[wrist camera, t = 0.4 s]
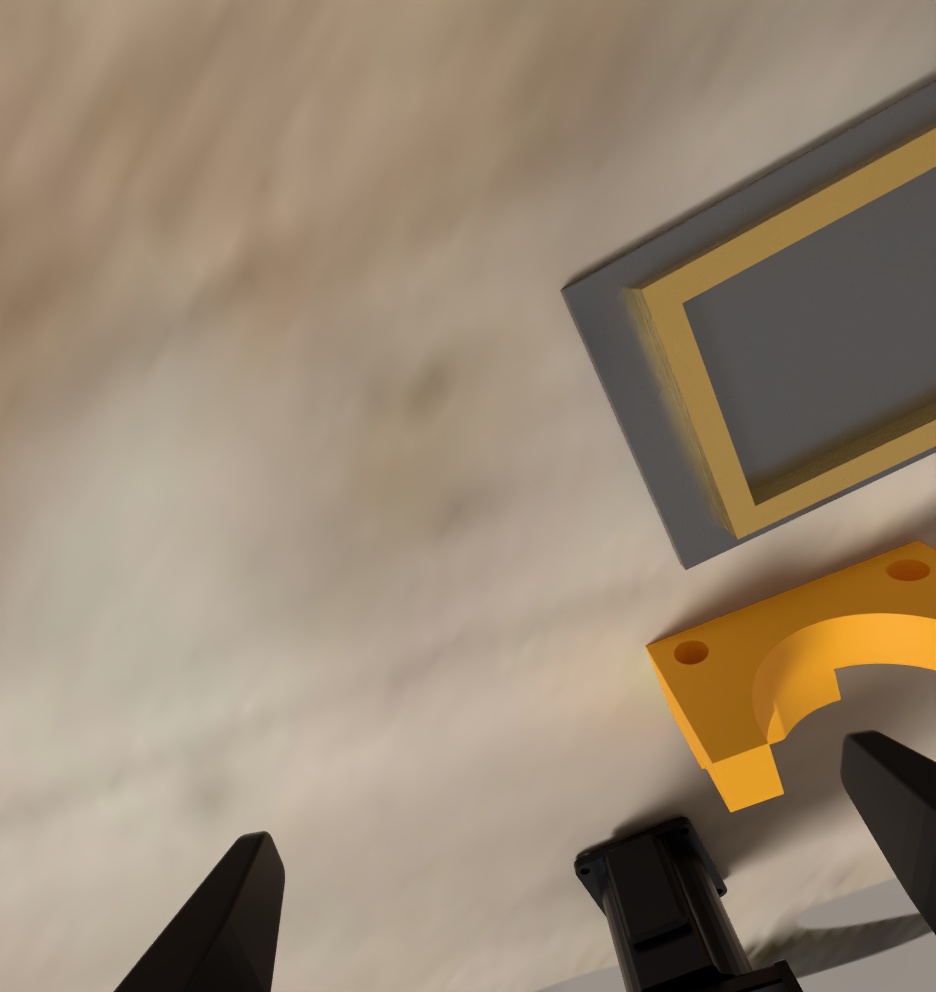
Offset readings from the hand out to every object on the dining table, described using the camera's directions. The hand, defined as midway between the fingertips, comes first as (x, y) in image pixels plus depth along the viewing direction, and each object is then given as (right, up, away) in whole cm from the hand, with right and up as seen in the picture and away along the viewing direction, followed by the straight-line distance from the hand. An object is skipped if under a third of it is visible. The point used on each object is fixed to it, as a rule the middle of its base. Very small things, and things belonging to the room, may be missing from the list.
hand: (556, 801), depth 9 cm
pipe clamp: (+13, -1, +16) cm, 21 cm away
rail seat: (+14, +12, +11) cm, 21 cm away
